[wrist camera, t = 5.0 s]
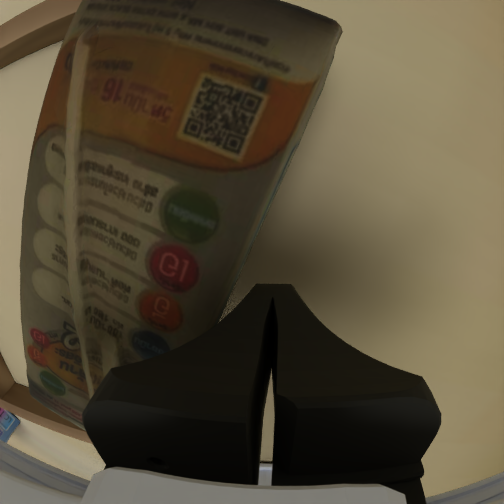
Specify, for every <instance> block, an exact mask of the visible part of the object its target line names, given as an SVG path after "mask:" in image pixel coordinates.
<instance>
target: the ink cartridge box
mask: <svg viewBox="0 0 504 504" xmlns="http://www.w3.org/2000/svg"><path fill="white" fill-rule="evenodd" d="M19 423H20V421H19V420H18V419H17V418H16V417H15V416H14V415H13V414H12V413H11V412H9V411H7V410H5V409H3V408H1V407H0V440H1V441H3V442H5V443H7V441H8V440H9V438H10V437H11V435H12V433H13V432H14V430H15V429H16V427H17V426H18V425H19Z"/></svg>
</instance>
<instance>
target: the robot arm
mask: <svg viewBox="0 0 504 504" xmlns="http://www.w3.org/2000/svg"><path fill="white" fill-rule="evenodd" d="M271 368H272V380H273V394H274V411H275V423H274V443H273V462H272V464H263V463H260V455H261V441H262V427H263V416H264V408H265V403H266V397H267V392H268V386H269V380H270V374H271ZM82 423H83V425H84V428H85V430H86V432H87V435H88V437H89V438H90V440H91V442H92V443H93V445H94V447H95V448H96V450H97V451H98V453H99V455H100V456H101V458H102V459H103V461H104V462H105V464H106V466H105V468H104V470H103V471H100V472H98V473H96V474H94V475H93V477H92V479H91V481H88V480H86V479H83V478H80V477H78V476H75V475H72V474H70V473H67V472H65V471H63V470H60V469H58V468H55V467H53V466H51V465H49V464H46V463H44V462H42V461H40V460H38V459H36V458H34V457H32V456H30V455H28V454H26V453H24V452H22V451H20V450H18V449H16V448H14V447H12V446H10V445H8V444H7V443H5V442H3V441H1V440H0V504H504V472H501V473H499V474H497V475H494V476H492V477H489V478H487V479H484V480H481V481H479V482H476V483H473V484H470V485H467V486H464V487H461V488H458V489H455V490H452V491H449V492H445V493H442V494H438V495H435V496H431V497H427V498H425V495H424V491H423V488H422V484H421V480H420V478H422V476H423V475H424V468H423V465H422V462H421V458H422V457H423V455H424V454H425V452H426V451H427V449H428V448H429V446H430V444H431V443H432V441H433V439H434V438H435V436H436V434H437V432H438V430H439V427H440V425H441V413H440V410H439V408H438V406H437V404H436V401H435V399H434V397H433V394H432V392H431V390H430V389H429V387H428V385H427V384H426V382H425V380H424V379H423V377H422V376H418V375H415V374H412V373H409V372H406V371H403V370H400V369H397V368H394V367H391V366H389V365H387V364H384V363H382V362H380V361H378V360H376V359H373V358H371V357H370V356H368V355H366V354H364V353H362V352H360V351H359V350H357V349H355V348H354V347H352V346H350V345H349V344H347V343H346V342H344V341H343V340H341V339H340V338H339V337H338V336H336V335H335V334H334V333H333V332H331V331H330V330H329V329H328V328H326V327H325V326H324V325H323V324H322V323H321V322H320V321H319V320H318V319H317V318H316V316H315V315H314V314H313V313H312V312H311V311H310V309H309V308H308V307H307V306H306V304H305V303H304V302H303V300H302V299H301V298H300V296H299V295H298V293H297V292H296V290H295V288H294V287H293V286H292V285H291V284H256V285H255V286H254V287H253V288H252V289H251V291H250V292H249V293H248V294H247V296H246V297H245V298H244V299H243V300H242V301H241V302H240V303H239V304H238V305H237V306H236V307H235V308H234V309H233V310H232V311H231V312H230V313H229V314H228V315H227V316H226V317H225V318H224V319H222V320H221V321H220V322H219V323H218V324H217V325H215V326H214V327H212V328H211V329H209V330H208V331H206V332H205V333H203V334H202V335H200V336H199V337H197V338H195V339H193V340H191V341H189V342H187V343H185V344H183V345H181V346H180V347H177V348H175V349H173V350H171V351H168V352H166V353H163V354H160V355H158V356H155V357H152V358H149V359H146V360H143V361H139V362H135V363H131V364H127V365H123V366H119V367H114V368H111V369H110V370H109V372H108V373H107V374H106V376H105V377H104V379H103V380H102V381H101V383H100V385H99V386H98V388H97V389H96V391H95V393H94V394H93V396H92V398H91V399H90V401H89V402H88V404H87V406H86V408H85V409H84V411H83V413H82Z"/></svg>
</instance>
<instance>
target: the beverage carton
mask: <svg viewBox="0 0 504 504" xmlns="http://www.w3.org/2000/svg"><path fill="white" fill-rule="evenodd" d="M341 34H342V28H341V26H340V25H339V24H338V23H337V22H336V21H335V20H333V19H331V18H328V17H326V16H323V15H321V14H318V13H315V12H312V11H310V10H307V9H305V8H302V7H299V6H296V5H293V4H290V3H287V2H283V1H280V0H82V2H81V3H80V5H79V7H78V9H77V11H76V13H75V15H74V17H73V20H72V22H71V24H70V26H69V29H68V31H67V33H66V36H65V38H64V41H63V43H62V46H61V48H60V51H59V53H58V56H57V59H56V62H55V65H54V68H53V72H52V75H51V78H50V81H49V84H48V88H47V91H46V94H45V98H44V101H43V105H42V109H41V113H40V116H39V120H38V124H37V128H36V133H35V137H34V141H33V146H32V150H31V156H30V163H29V169H28V177H27V185H26V191H25V197H24V210H23V218H22V239H21V257H20V273H21V274H20V301H21V323H22V333H23V342H24V352H25V359H26V363H27V378H28V383H29V393H30V395H31V396H32V397H33V398H34V399H36V400H37V401H38V402H40V403H41V404H42V405H44V406H45V407H47V408H48V409H50V410H52V411H53V412H55V413H56V414H58V415H60V416H61V417H63V418H65V419H66V420H68V421H70V422H72V423H73V424H75V425H77V426H79V427H80V428H82V429H84V430H85V428H84V425H83V423H82V413H83V411H84V409H85V408H86V406H87V404H88V402H89V401H90V399H91V398H92V396H93V394H94V393H95V391H96V389H97V388H98V386H99V385H100V383H101V381H102V380H103V379H104V377H105V376H106V374H107V373H108V372H109V370H110V369H111V368H114V367H119V366H123V365H127V364H131V363H135V362H139V361H143V360H146V359H149V358H152V357H155V356H158V355H160V354H163V353H166V352H168V351H171V350H173V349H175V348H177V347H180V346H181V345H183V344H185V343H187V342H189V341H191V340H193V339H195V338H197V337H199V336H200V335H202V334H203V333H205V332H206V331H208V330H209V329H211V328H212V327H214V326H215V325H217V324H218V322H219V320H220V318H221V316H222V314H223V311H224V309H225V306H226V304H227V301H228V299H229V297H230V295H231V292H232V290H233V288H234V286H235V284H236V281H237V279H238V277H239V275H240V273H241V270H242V268H243V266H244V264H245V261H246V259H247V257H248V254H249V252H250V250H251V247H252V245H253V243H254V241H255V239H256V237H257V234H258V232H259V230H260V228H261V226H262V224H263V222H264V219H265V217H266V215H267V213H268V210H269V208H270V206H271V203H272V201H273V199H274V197H275V195H276V192H277V190H278V188H279V186H280V184H281V182H282V179H283V177H284V175H285V173H286V171H287V168H288V166H289V164H290V162H291V160H292V157H293V155H294V153H295V151H296V149H297V147H298V145H299V143H300V140H301V138H302V135H303V133H304V130H305V128H306V126H307V123H308V121H309V119H310V116H311V114H312V112H313V109H314V107H315V105H316V102H317V100H318V98H319V96H320V94H321V92H322V90H323V87H324V84H325V81H326V78H327V75H328V72H329V69H330V66H331V64H332V61H333V58H334V53H335V48H336V45H337V43H338V41H339V38H340V36H341ZM85 431H86V430H85Z"/></svg>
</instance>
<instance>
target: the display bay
mask: <svg viewBox="0 0 504 504" xmlns="http://www.w3.org/2000/svg"><path fill="white" fill-rule="evenodd" d="M81 2H82V0H46V1H44V2H42V3H40V4H38V5H36V6H34V7H32V8H30V9H28V10H26V11H25V12H23V13H21V14H19V15H17V16H16V17H14V18H12V19H11V20H9V21H7V22H6V23H4V24H2V25H1V26H0V69H1V68H3V67H5V66H6V65H8V64H10V63H12V62H14V61H16V60H18V59H20V58H22V57H24V56H26V55H29V54H31V53H33V52H35V51H37V50H40V49H42V48H44V47H47V46H49V45H51V44H54V43H56V42H59V41H61V40H64V38H65V36H66V33H67V31H68V29H69V26H70V24H71V22H72V20H73V17H74V15H75V13H76V11H77V9H78V7H79V5H80V3H81ZM0 407H1V408H3V409H5V410H7V411H9V412H11V413H13V414H15V415H18V416H20V417H22V418H24V419H26V420H29V421H31V422H33V423H36V424H38V425H41V426H43V427H46V428H48V429H51V430H53V431H56V432H59V433H61V434H64V435H67V436H70V437H73V438H76V439H79V440H82V441H85V442H88V443H91V444H93V443H92V442H91V440H90V438H89V437H88V435H87V432H86V431H85V430H84V429H82V428H80V427H79V426H77V425H75V424H73V423H72V422H70V421H68V420H66V419H65V418H63V417H61V416H60V415H58V414H56V413H55V412H53V411H52V410H50V409H48V408H47V407H45V406H44V405H42V404H41V403H40V402H38V401H37V400H36V399H34V398H33V397H32V396H31V395H30V393H29V388H28V387H26V386H23V385H20V384H18V383H15V381H14V380H13V378H12V376H11V374H10V372H9V370H8V368H7V366H6V364H5V362H4V360H3V357H2V355H1V353H0Z"/></svg>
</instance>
